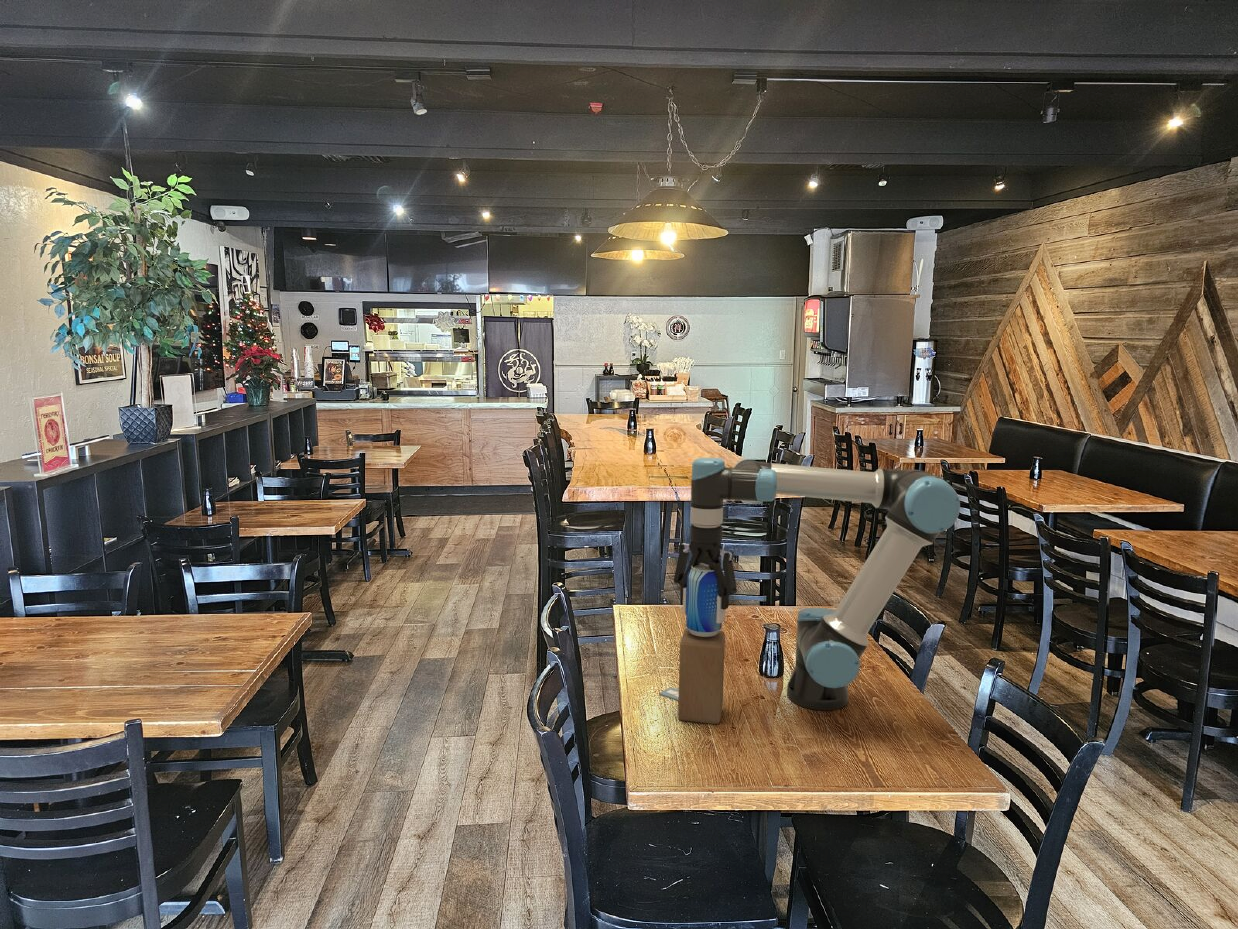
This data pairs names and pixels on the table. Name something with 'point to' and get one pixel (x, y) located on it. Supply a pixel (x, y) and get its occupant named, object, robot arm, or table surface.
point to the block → (701, 677)
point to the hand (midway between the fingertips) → (703, 617)
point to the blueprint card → (670, 693)
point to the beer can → (702, 601)
